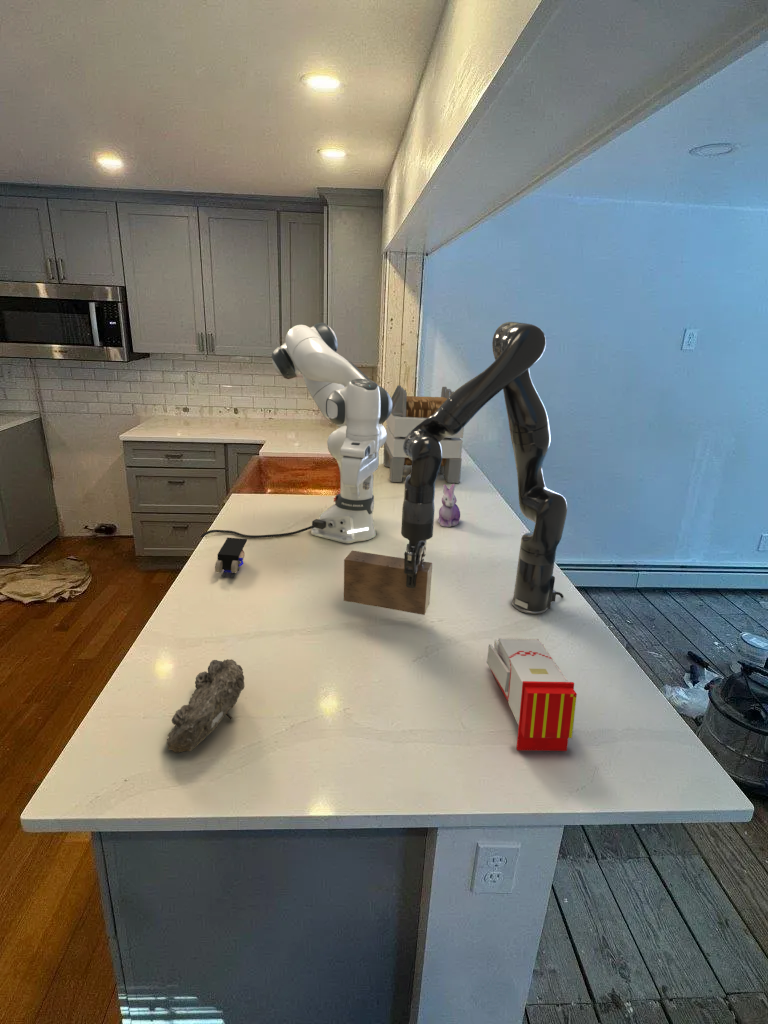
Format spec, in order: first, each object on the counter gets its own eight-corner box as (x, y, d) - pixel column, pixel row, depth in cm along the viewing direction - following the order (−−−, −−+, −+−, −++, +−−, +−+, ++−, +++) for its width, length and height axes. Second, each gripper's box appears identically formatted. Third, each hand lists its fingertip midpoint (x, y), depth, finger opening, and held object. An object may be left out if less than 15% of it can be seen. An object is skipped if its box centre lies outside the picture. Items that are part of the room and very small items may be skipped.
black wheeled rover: (238, 584, 162) (249, 557, 175) (236, 562, 158) (247, 536, 172) (215, 584, 161) (227, 556, 175) (212, 561, 158) (225, 535, 171)
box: (343, 600, 143) (344, 559, 139) (351, 590, 148) (351, 550, 144) (424, 615, 137) (427, 572, 134) (429, 603, 143) (432, 562, 139)
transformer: (382, 463, 289) (386, 382, 275) (445, 464, 293) (451, 384, 279) (390, 482, 257) (394, 392, 243) (460, 483, 261) (468, 394, 247)
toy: (536, 621, 128) (586, 689, 98) (531, 676, 131) (578, 758, 101) (482, 620, 127) (517, 688, 98) (478, 675, 130) (511, 757, 101)
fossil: (192, 660, 117) (244, 628, 112) (224, 691, 120) (276, 661, 115) (142, 746, 98) (202, 712, 93) (182, 779, 101) (242, 748, 96)
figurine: (445, 529, 206) (449, 489, 200) (430, 519, 214) (433, 481, 209) (467, 525, 210) (470, 487, 205) (451, 516, 218) (454, 479, 213)
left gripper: (363, 434, 158) (362, 482, 163) (337, 450, 140) (337, 503, 144) (385, 437, 157) (383, 484, 161) (362, 453, 138) (360, 506, 143)
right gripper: (427, 529, 125) (422, 597, 131) (439, 509, 139) (434, 571, 144) (394, 525, 127) (391, 592, 133) (409, 505, 140) (406, 567, 146)
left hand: (361, 493), depth 153 cm, fingers open, 8 cm apart
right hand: (413, 581), depth 139 cm, fingers closed on box, 6 cm apart
